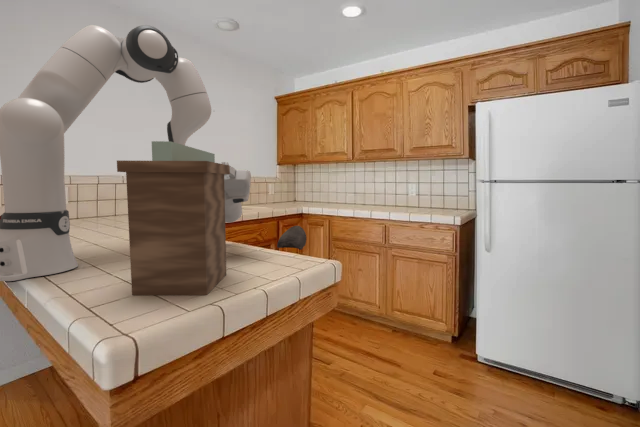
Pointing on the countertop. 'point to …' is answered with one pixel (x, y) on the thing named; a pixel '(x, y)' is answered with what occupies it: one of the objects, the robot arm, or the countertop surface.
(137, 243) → the pedestal
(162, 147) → the bar
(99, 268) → the countertop surface
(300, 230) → the stone
